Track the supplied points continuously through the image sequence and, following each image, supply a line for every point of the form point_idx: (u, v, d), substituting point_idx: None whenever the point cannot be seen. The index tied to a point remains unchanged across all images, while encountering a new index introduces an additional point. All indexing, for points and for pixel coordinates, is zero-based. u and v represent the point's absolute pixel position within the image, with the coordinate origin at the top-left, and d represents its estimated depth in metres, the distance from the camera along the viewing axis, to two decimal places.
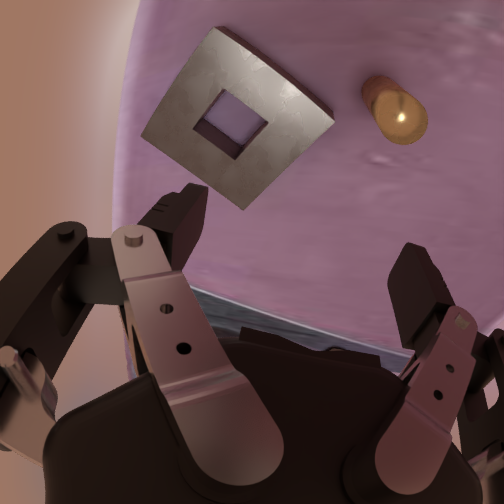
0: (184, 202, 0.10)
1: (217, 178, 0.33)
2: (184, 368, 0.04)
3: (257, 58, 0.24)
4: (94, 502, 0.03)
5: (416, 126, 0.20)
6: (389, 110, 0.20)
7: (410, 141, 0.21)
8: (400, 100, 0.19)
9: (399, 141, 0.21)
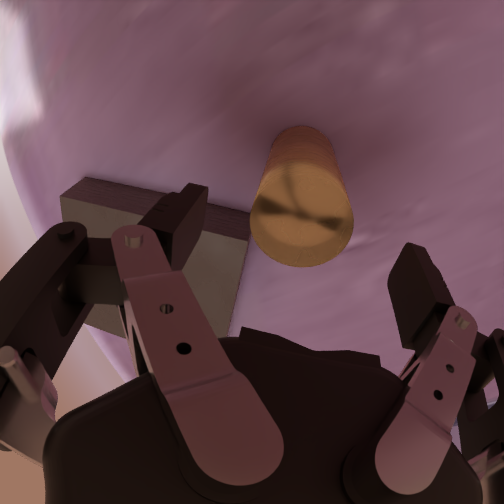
0: (184, 202, 0.10)
1: None
2: (185, 368, 0.04)
3: (115, 210, 0.19)
4: (94, 502, 0.03)
5: (331, 221, 0.12)
6: (266, 223, 0.12)
7: (336, 249, 0.12)
8: (273, 195, 0.11)
9: (317, 260, 0.13)
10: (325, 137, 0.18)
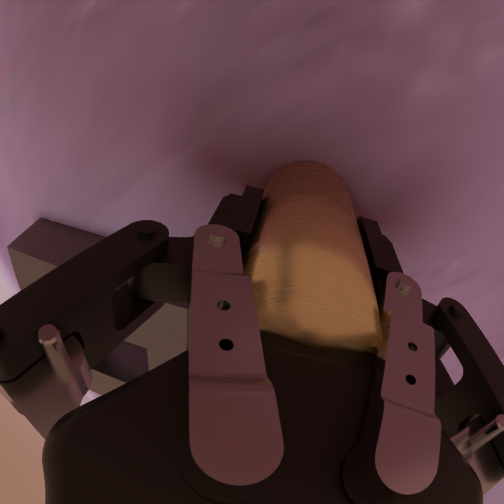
0: (250, 204, 0.11)
1: None
2: (220, 363, 0.05)
3: None
4: (76, 493, 0.03)
5: None
6: None
7: None
8: None
9: None
10: (339, 178, 0.13)
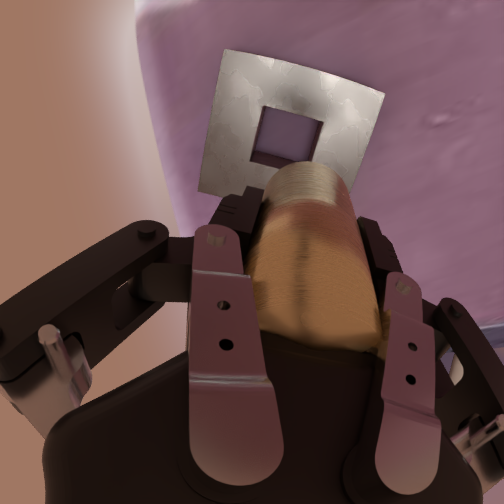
0: (250, 204, 0.11)
1: None
2: (220, 362, 0.05)
3: (282, 61, 0.22)
4: (76, 493, 0.03)
5: None
6: None
7: None
8: None
9: None
10: (340, 179, 0.13)
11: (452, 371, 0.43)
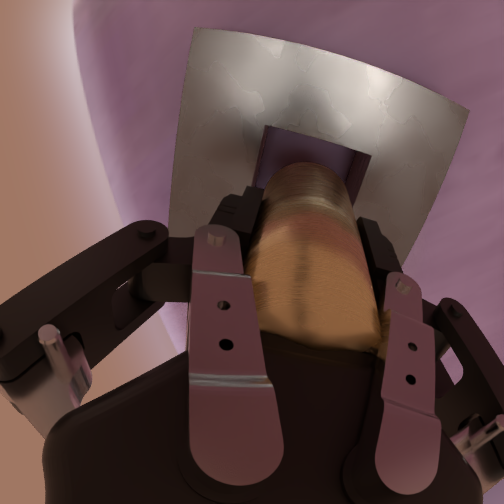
0: (250, 204, 0.11)
1: None
2: (220, 362, 0.05)
3: (299, 45, 0.12)
4: (76, 493, 0.03)
5: None
6: None
7: None
8: None
9: None
10: (339, 179, 0.13)
11: None
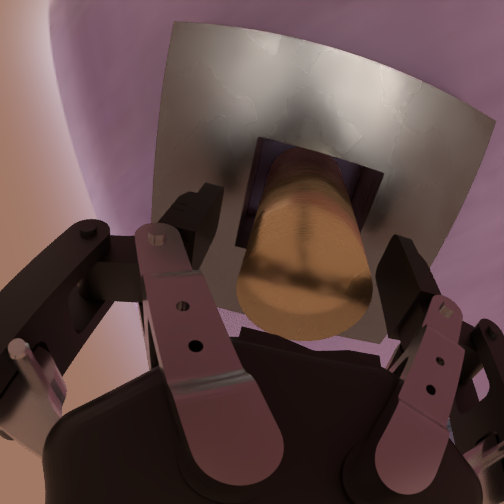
0: (203, 201, 0.10)
1: None
2: (195, 366, 0.05)
3: (298, 41, 0.10)
4: (89, 500, 0.03)
5: (344, 291, 0.09)
6: (258, 293, 0.09)
7: (348, 323, 0.09)
8: (267, 260, 0.09)
9: (323, 334, 0.10)
10: (333, 161, 0.15)
11: None
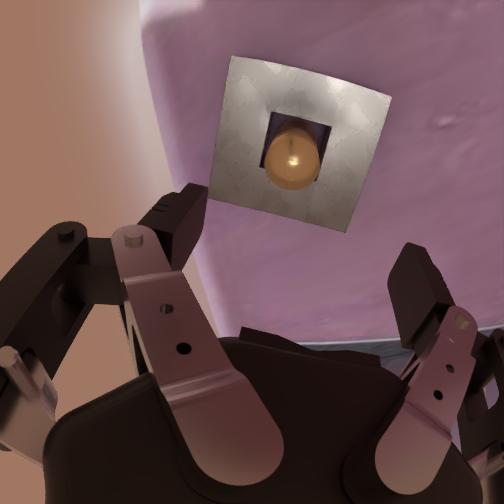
0: (184, 202, 0.10)
1: (306, 209, 0.30)
2: (185, 368, 0.04)
3: (289, 67, 0.23)
4: (94, 502, 0.03)
5: (307, 162, 0.22)
6: (273, 164, 0.22)
7: (312, 179, 0.22)
8: (277, 149, 0.22)
9: (301, 185, 0.23)
10: (309, 125, 0.28)
11: None
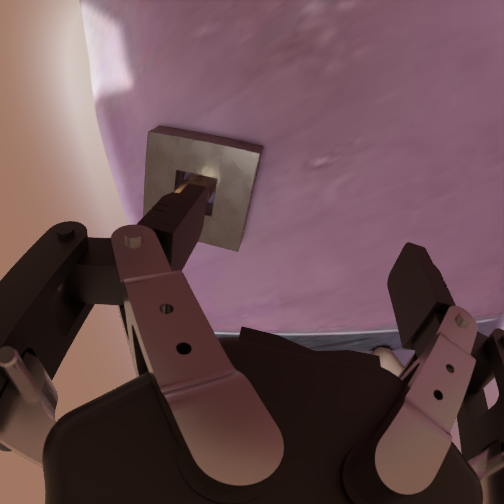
0: (184, 202, 0.10)
1: (207, 235, 0.42)
2: (185, 368, 0.04)
3: (185, 138, 0.35)
4: (94, 502, 0.03)
5: None
6: None
7: None
8: None
9: None
10: None
11: None
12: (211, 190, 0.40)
